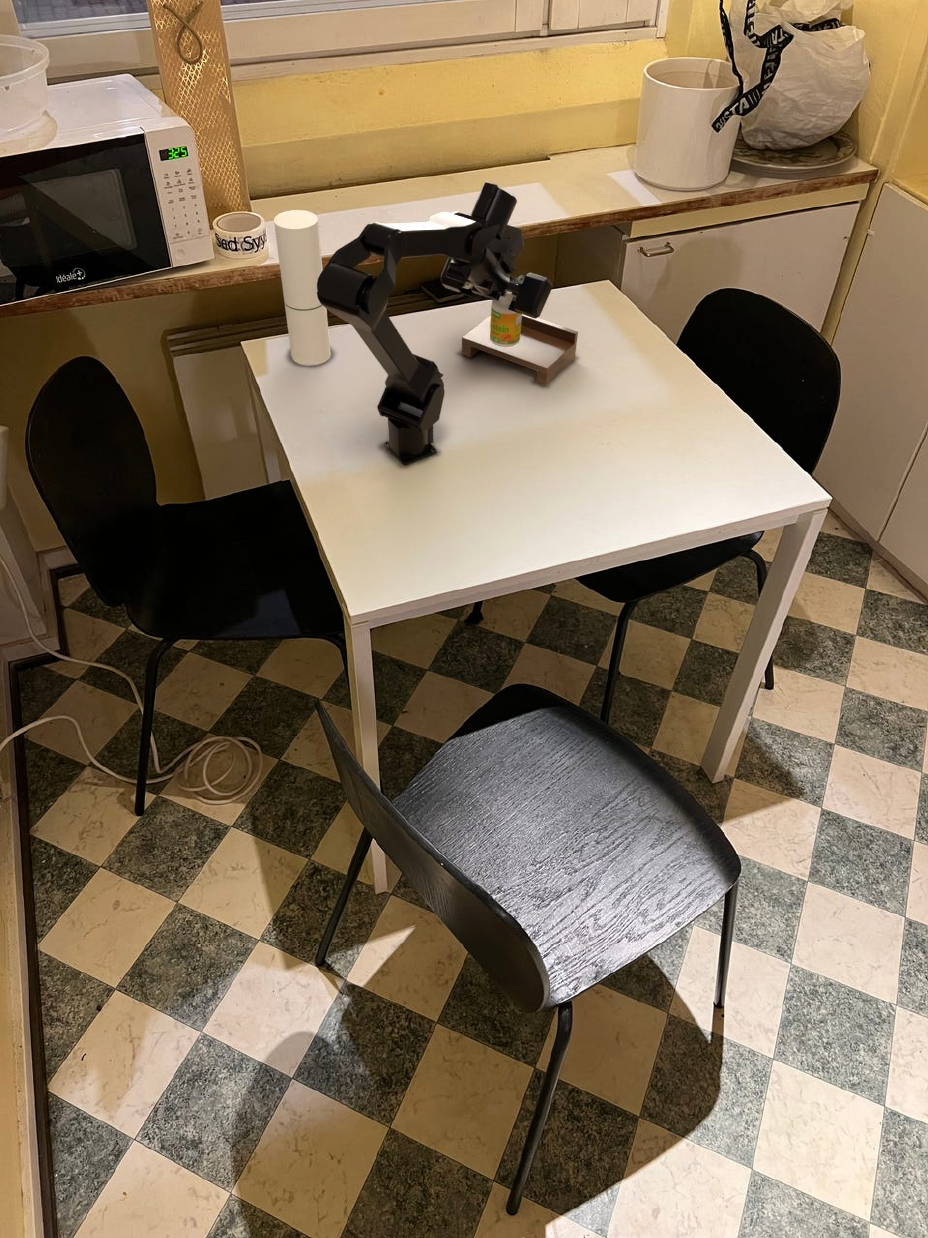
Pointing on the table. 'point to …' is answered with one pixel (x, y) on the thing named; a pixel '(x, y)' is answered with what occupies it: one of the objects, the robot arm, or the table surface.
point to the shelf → (528, 346)
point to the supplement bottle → (504, 323)
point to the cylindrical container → (302, 285)
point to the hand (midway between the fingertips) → (511, 302)
